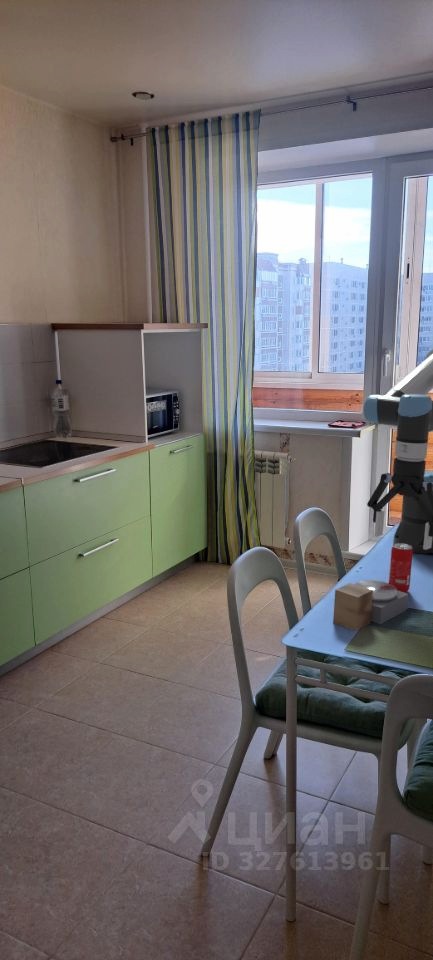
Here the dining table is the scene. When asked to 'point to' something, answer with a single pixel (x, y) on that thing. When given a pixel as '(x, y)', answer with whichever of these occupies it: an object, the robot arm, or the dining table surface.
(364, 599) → the walnut block
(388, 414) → the robot arm
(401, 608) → the scale base
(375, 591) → the scale pan
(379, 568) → the dining table surface
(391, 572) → the beverage can
